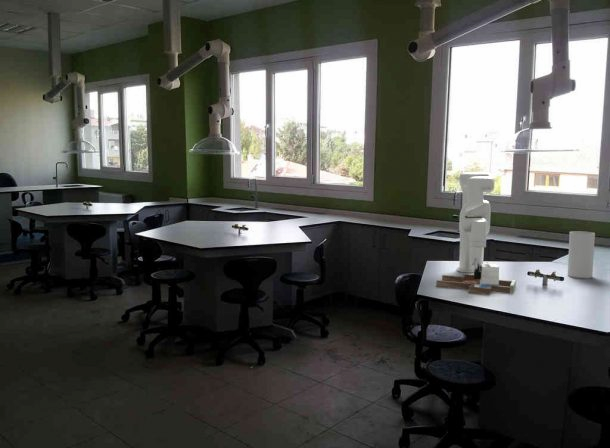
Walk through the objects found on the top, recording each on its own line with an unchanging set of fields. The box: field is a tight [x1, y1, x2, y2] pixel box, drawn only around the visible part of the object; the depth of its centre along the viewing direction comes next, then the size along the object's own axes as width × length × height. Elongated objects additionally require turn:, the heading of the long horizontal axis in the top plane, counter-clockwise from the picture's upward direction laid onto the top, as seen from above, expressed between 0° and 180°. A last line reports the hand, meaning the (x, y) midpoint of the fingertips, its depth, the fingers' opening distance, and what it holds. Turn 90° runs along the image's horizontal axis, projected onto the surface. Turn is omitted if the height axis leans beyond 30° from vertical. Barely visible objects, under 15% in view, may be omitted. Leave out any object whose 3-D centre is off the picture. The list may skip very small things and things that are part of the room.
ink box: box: [479, 261, 500, 288], centre depth 271 cm, size 9×8×13 cm
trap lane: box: [435, 273, 517, 296], centre depth 273 cm, size 31×38×4 cm
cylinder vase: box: [567, 230, 596, 280], centre depth 296 cm, size 12×12×25 cm
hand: (477, 278), depth 273 cm, fingers closed
